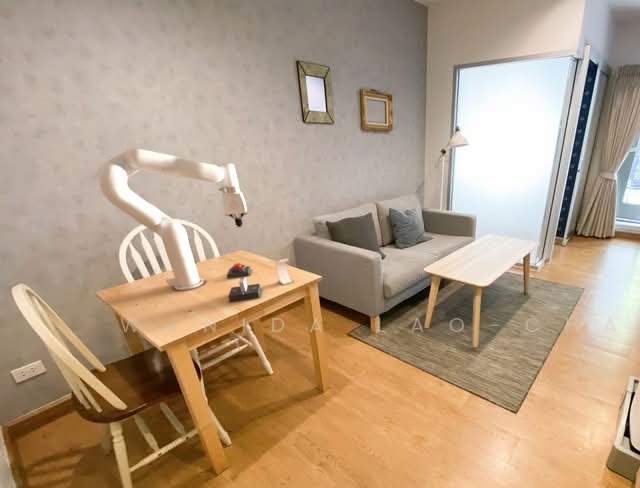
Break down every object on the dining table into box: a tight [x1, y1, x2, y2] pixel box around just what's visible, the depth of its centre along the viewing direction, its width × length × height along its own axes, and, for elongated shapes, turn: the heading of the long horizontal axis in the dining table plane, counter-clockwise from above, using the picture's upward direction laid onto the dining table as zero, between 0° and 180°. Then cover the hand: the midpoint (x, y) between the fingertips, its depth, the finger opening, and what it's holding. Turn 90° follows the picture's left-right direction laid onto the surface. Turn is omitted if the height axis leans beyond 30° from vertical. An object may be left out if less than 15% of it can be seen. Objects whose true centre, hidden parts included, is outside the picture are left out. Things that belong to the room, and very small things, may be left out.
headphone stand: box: [275, 258, 293, 286], centre depth 160 cm, size 5×6×12 cm
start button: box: [233, 262, 242, 269], centre depth 170 cm, size 4×4×2 cm
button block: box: [226, 264, 252, 279], centre depth 171 cm, size 10×8×4 cm
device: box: [228, 283, 262, 303], centre depth 149 cm, size 12×10×3 cm
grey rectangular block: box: [238, 276, 248, 292], centre depth 147 cm, size 6×2×5 cm, turn 16°
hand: (239, 226), depth 170 cm, fingers closed
